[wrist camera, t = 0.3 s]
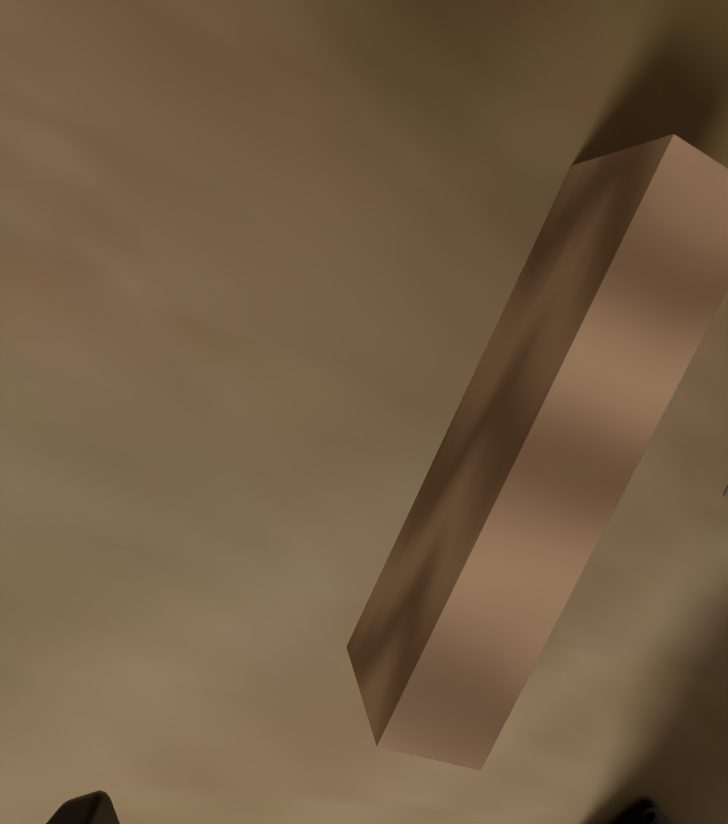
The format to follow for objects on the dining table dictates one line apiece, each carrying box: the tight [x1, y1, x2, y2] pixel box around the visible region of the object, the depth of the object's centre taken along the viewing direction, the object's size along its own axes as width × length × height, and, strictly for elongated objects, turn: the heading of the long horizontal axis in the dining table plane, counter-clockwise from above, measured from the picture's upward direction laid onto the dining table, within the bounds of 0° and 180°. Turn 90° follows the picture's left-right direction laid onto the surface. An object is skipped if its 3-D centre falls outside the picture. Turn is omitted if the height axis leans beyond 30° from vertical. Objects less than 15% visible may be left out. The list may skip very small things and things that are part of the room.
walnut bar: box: [347, 134, 728, 770], centre depth 19 cm, size 18×4×5 cm, turn 156°
